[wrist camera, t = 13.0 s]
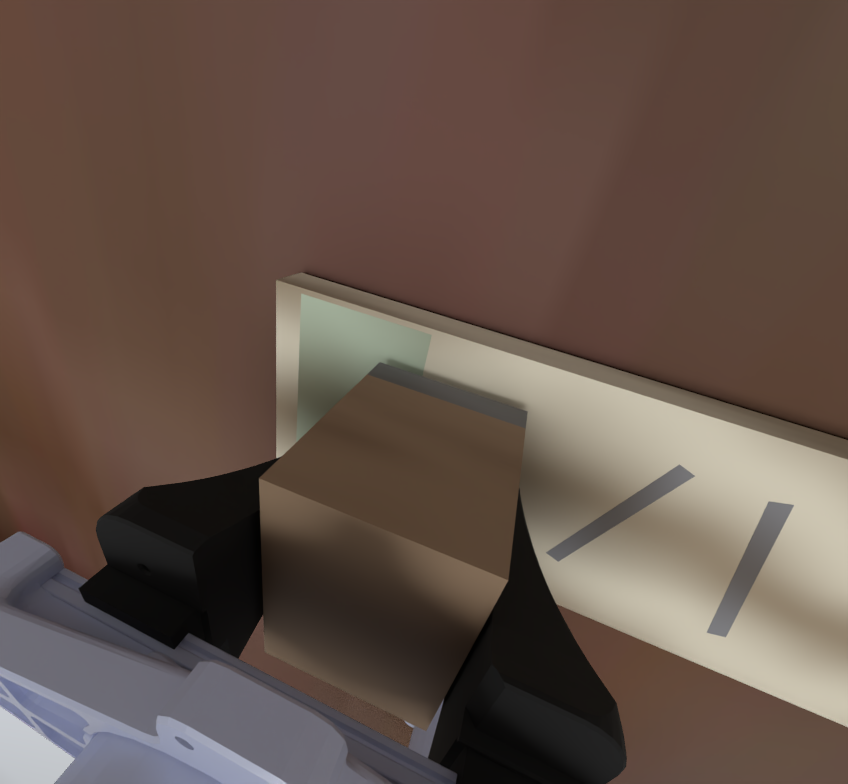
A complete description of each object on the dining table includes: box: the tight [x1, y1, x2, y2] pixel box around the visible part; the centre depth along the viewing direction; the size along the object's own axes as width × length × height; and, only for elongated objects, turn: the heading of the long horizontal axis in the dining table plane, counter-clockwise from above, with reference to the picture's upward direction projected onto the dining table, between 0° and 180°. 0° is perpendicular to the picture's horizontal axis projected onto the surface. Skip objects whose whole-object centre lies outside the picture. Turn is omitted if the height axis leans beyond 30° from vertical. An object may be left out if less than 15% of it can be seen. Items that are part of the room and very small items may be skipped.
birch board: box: [276, 273, 848, 727], centre depth 14 cm, size 10×28×2 cm, turn 78°
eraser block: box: [259, 362, 528, 731], centre depth 11 cm, size 7×5×6 cm
